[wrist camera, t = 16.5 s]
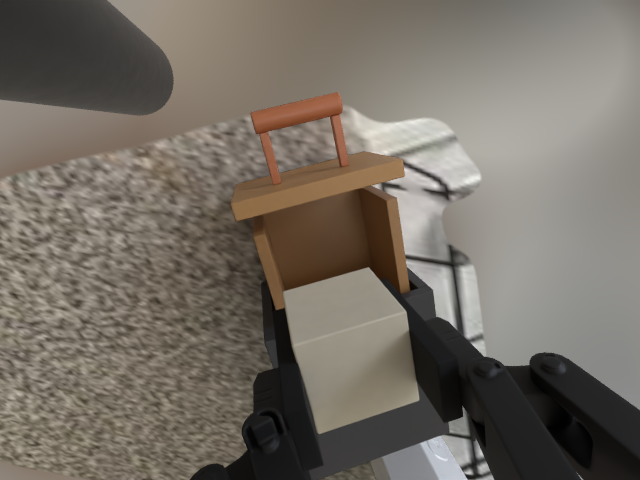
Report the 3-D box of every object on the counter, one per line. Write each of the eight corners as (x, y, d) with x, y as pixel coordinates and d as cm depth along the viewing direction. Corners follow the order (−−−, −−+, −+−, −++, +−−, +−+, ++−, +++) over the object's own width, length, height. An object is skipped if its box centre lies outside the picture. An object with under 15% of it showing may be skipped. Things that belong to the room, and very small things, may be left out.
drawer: (216, 123, 26) (202, 121, 19) (354, 90, 27) (392, 76, 20) (278, 319, 32) (285, 374, 25) (387, 285, 34) (425, 328, 26)
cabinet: (260, 282, 32) (264, 342, 23) (384, 246, 33) (433, 289, 24) (297, 396, 37) (312, 482, 28) (403, 361, 38) (450, 432, 29)
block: (281, 291, 17) (291, 345, 12) (368, 266, 17) (407, 311, 13) (302, 364, 18) (318, 435, 14) (382, 339, 19) (420, 401, 14)
